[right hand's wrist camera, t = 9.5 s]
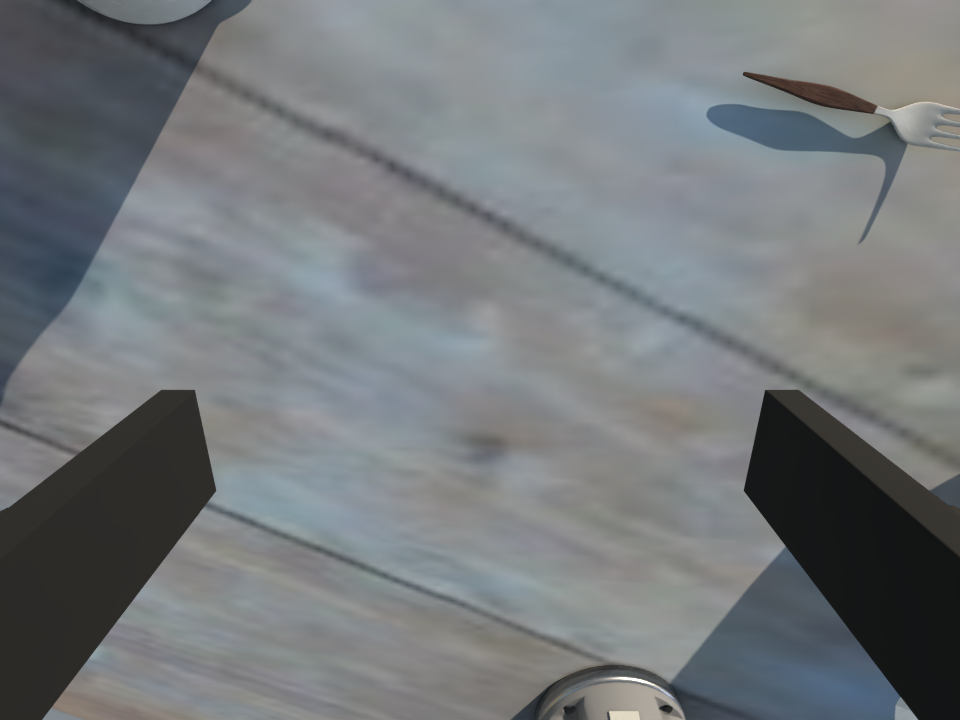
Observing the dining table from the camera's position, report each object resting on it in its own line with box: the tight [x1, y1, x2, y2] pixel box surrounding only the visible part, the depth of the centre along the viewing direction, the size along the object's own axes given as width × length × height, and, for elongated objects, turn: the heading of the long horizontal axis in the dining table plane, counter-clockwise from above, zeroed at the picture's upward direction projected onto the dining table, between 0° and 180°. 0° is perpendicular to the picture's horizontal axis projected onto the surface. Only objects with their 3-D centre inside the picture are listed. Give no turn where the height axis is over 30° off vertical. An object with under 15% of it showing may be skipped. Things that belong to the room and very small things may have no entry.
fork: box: [743, 72, 960, 151], centre depth 34 cm, size 3×16×2 cm, turn 76°
